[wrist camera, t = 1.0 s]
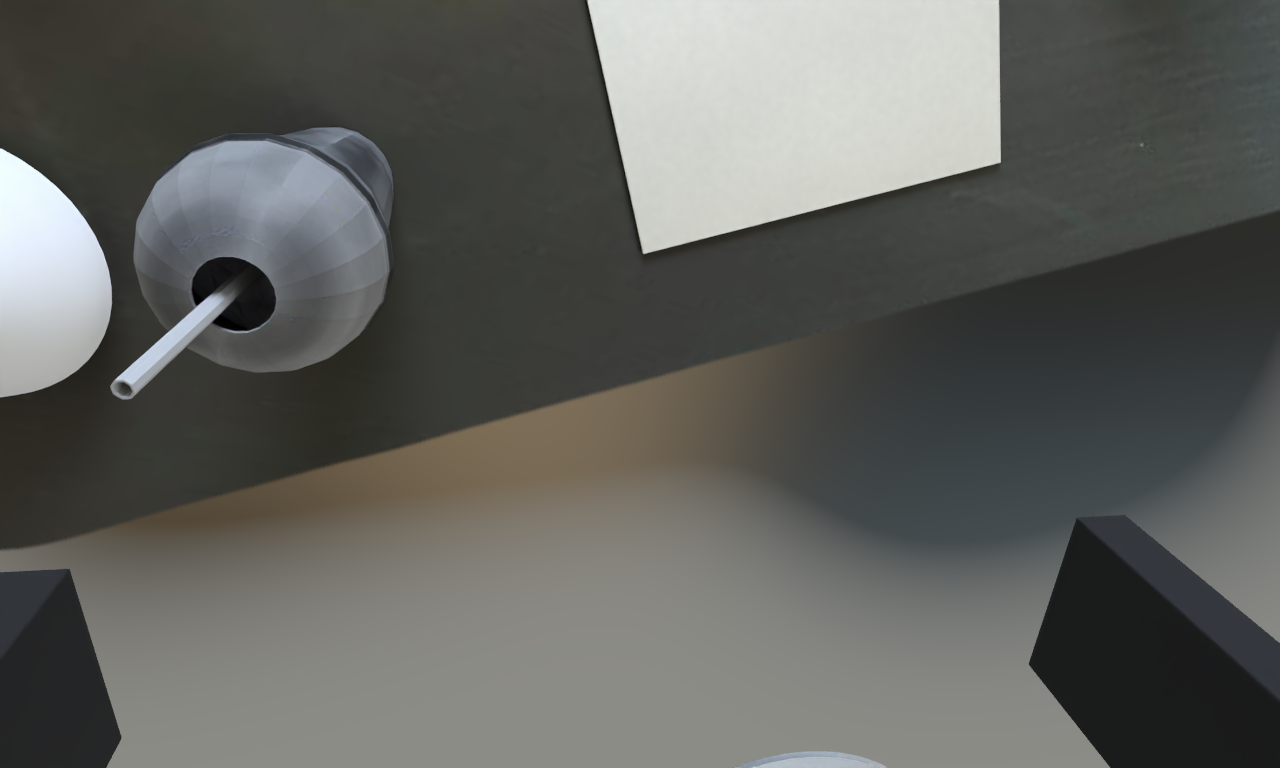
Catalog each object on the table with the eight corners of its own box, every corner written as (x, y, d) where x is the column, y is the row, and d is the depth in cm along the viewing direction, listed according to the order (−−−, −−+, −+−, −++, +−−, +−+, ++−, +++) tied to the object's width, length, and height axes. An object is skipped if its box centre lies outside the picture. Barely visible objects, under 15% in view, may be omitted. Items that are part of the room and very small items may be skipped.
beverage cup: (457, 214, 37) (411, 417, 19) (319, 288, 37) (146, 556, 19) (362, 59, 33) (197, 127, 15) (212, 144, 34) (-116, 303, 16)
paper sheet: (642, 253, 39) (643, 254, 38) (576, -48, 33) (576, -49, 33) (998, 162, 39) (1000, 162, 39) (995, -148, 34) (997, -149, 33)
